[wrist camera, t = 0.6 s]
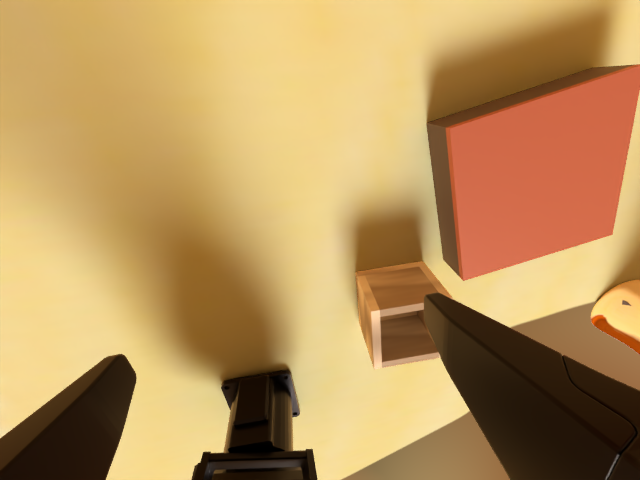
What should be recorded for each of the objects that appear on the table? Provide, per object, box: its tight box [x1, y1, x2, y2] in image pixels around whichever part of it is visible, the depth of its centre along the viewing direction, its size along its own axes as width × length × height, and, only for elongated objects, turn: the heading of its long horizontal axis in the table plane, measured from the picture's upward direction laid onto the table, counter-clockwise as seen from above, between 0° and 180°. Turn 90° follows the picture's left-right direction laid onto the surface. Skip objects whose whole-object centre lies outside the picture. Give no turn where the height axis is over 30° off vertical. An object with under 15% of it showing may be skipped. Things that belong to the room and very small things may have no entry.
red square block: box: [427, 65, 640, 281], centre depth 21 cm, size 11×11×4 cm
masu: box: [356, 261, 453, 369], centre depth 23 cm, size 6×6×5 cm
